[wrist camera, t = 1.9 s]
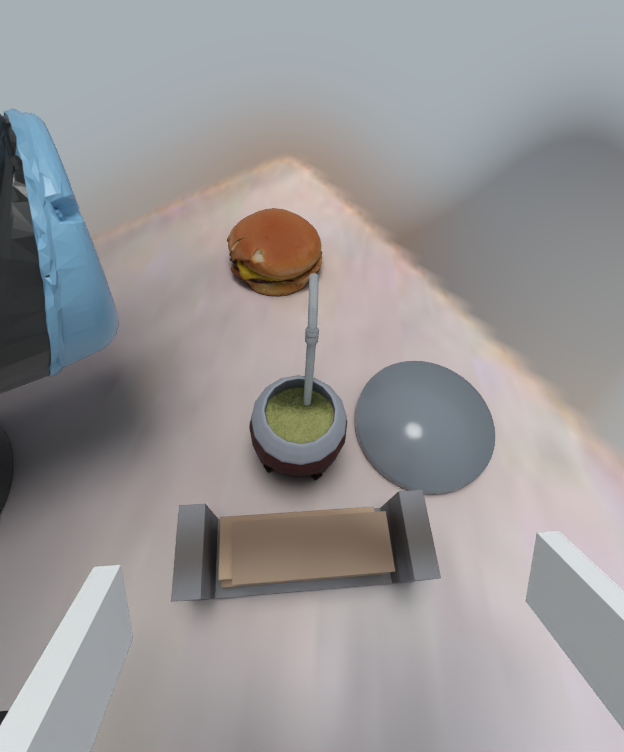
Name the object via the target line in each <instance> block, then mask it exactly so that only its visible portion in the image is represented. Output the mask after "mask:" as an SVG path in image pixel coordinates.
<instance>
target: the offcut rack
mask: <svg viewBox="0 0 624 752" xmlns="http://www.w3.org/2000/svg"><path fill="white" fill-rule="evenodd" d="M439 578H441V576H440V571H439V566H438V561H437V557H436V552H435V547H434V542H433V537H432V533H431V528H430V523H429V518H428V513H427V508H426V504H425V499H424V494H423V490H411V491H399V492H398V493H396V494H395V495H394V496H393V497H392V498H391V499H390V500H389V501H388V502H387V503H385V504H384V505H383V506H382V507H381V508H374V507H362V508H347V509H332V510H318V511H303V512H288V513H273V514H258V515H244V516H229V517H221V518H220V519H218V518H217V517H216V516H215V515H214V514H213V512H212V511H211V510H210V509H209V508H208V506H207V505H206V504H194V505H179V512H178V524H177V536H176V548H175V561H174V573H173V585H172V597H171V602H172V601H194V600H205V599H217V598H229V597H240V596H252V595H263V594H275V593H286V592H298V591H310V590H321V589H333V588H344V587H356V586H367V585H379V584H391V583H402V582H414V581H422V580H430V579H439Z"/></svg>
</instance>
